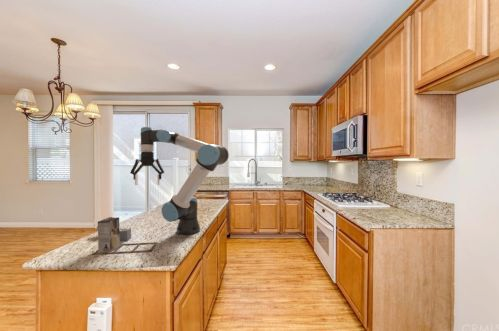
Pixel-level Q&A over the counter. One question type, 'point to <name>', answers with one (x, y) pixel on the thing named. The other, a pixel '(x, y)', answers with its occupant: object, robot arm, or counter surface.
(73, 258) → the counter surface
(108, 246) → the coffee box
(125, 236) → the die
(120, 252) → the brown flat frame
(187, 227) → the robot arm
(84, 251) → the counter surface
